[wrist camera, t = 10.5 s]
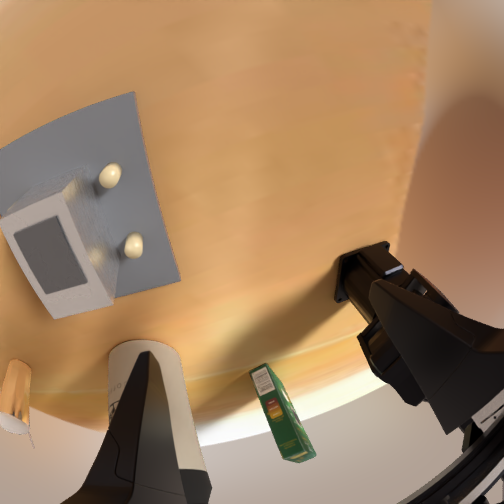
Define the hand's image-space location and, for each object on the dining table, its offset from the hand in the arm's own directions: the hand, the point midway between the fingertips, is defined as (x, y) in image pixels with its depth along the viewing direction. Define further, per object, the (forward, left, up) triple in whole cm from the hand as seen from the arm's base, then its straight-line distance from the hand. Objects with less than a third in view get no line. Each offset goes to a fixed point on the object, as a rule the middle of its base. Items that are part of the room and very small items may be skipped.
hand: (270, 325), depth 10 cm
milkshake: (-13, +28, -12) cm, 33 cm away
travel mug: (-15, +11, -12) cm, 22 cm away
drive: (+2, +10, -11) cm, 14 cm away
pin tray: (+2, +10, -12) cm, 15 cm away
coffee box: (-26, -2, -12) cm, 29 cm away
